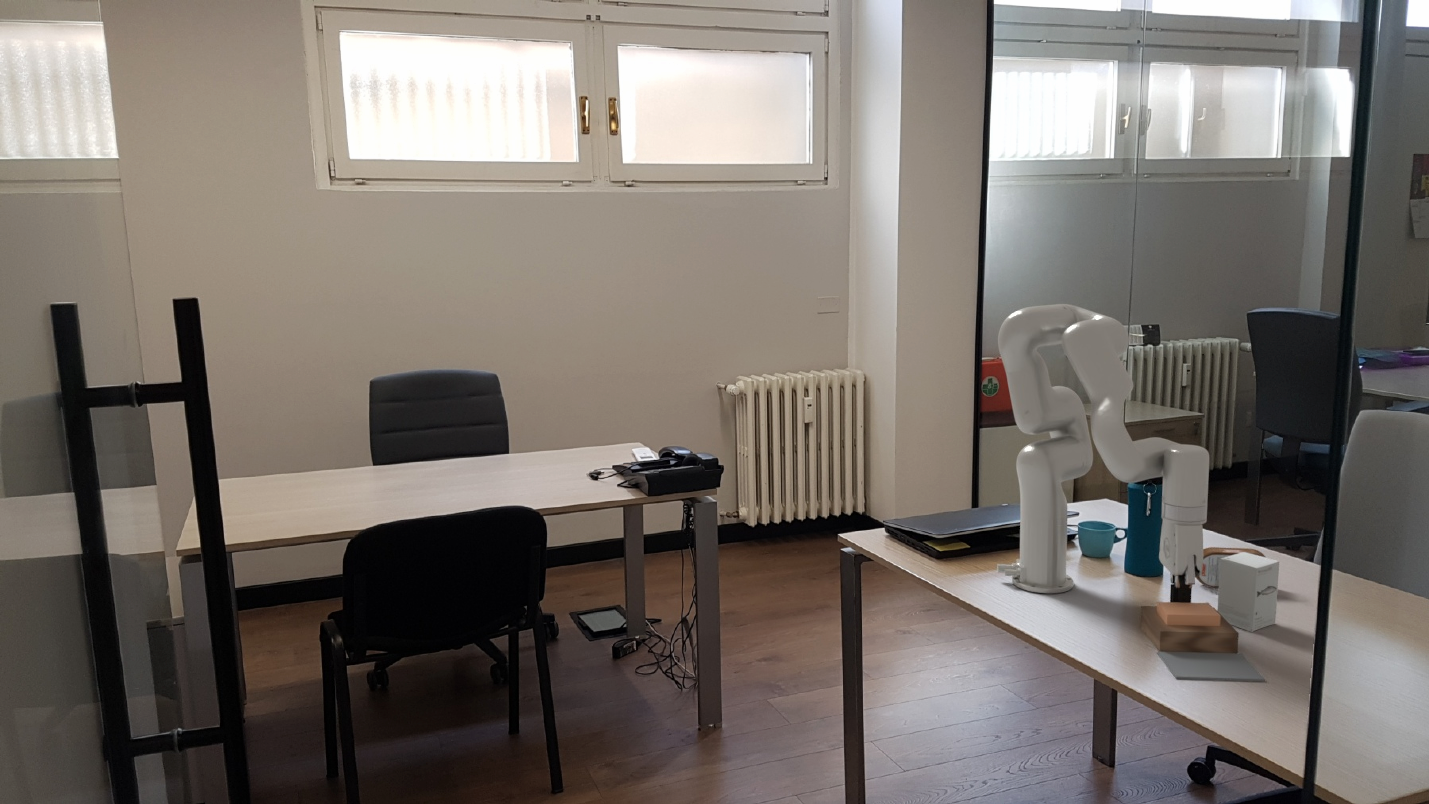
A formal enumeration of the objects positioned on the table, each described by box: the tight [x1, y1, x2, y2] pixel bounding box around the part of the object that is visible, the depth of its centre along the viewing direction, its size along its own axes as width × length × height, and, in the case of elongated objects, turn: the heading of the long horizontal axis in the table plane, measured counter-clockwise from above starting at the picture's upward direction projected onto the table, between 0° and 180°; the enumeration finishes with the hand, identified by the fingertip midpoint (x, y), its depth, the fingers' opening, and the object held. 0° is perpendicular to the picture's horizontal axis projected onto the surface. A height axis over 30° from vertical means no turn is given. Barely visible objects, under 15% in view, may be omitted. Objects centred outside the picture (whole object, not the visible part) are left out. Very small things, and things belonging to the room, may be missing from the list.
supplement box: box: [1216, 552, 1280, 633], centre depth 179 cm, size 7×7×13 cm
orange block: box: [1156, 601, 1221, 626], centre depth 172 cm, size 9×6×2 cm, turn 81°
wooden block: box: [1139, 605, 1239, 654], centre depth 173 cm, size 13×12×4 cm
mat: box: [1157, 650, 1266, 683], centre depth 162 cm, size 14×10×1 cm
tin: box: [1195, 546, 1267, 589], centre depth 197 cm, size 15×3×8 cm, turn 78°
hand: (1180, 605), depth 177 cm, fingers closed
